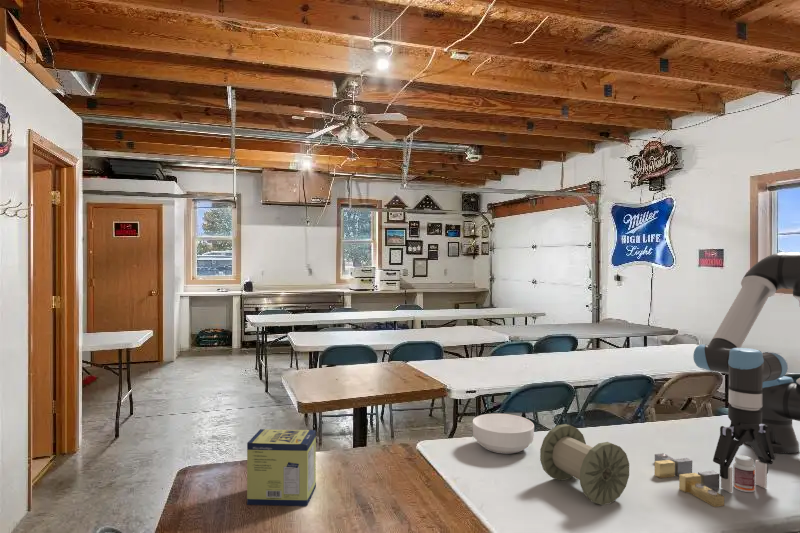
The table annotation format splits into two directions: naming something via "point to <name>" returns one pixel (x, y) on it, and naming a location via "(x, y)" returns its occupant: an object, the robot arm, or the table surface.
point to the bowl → (503, 432)
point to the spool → (585, 463)
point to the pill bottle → (744, 474)
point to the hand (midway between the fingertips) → (743, 488)
